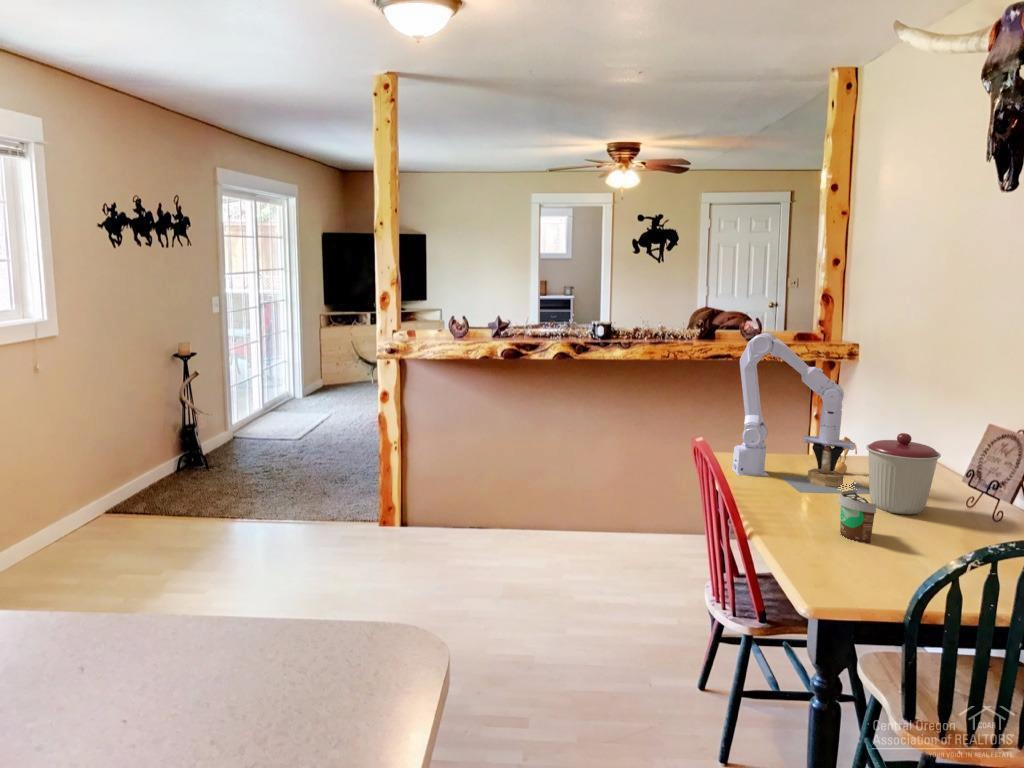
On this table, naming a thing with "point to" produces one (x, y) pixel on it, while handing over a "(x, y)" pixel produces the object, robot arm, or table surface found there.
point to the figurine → (841, 465)
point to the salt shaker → (826, 460)
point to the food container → (856, 516)
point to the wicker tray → (825, 478)
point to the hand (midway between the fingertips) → (826, 469)
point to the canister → (901, 474)
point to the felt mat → (819, 486)
